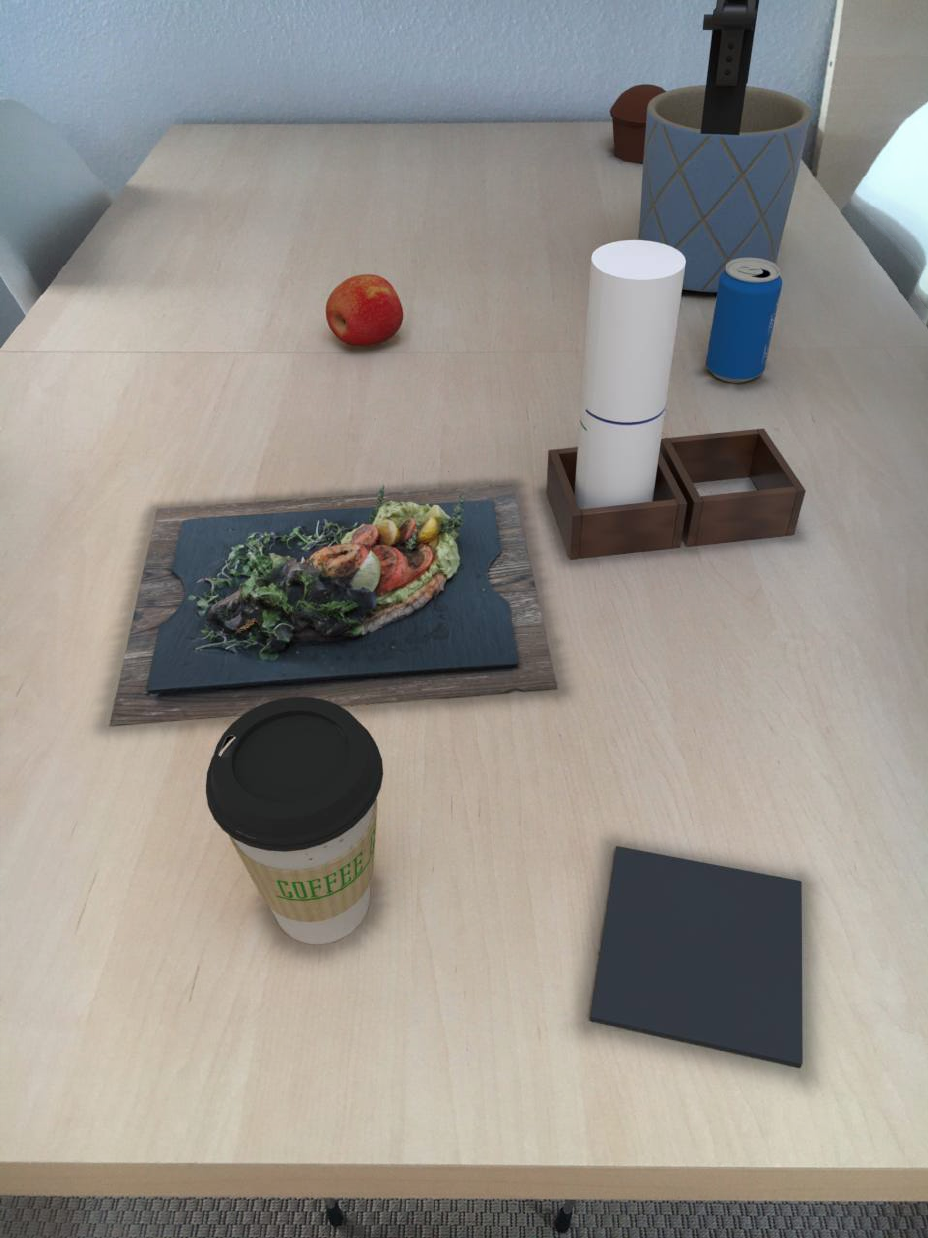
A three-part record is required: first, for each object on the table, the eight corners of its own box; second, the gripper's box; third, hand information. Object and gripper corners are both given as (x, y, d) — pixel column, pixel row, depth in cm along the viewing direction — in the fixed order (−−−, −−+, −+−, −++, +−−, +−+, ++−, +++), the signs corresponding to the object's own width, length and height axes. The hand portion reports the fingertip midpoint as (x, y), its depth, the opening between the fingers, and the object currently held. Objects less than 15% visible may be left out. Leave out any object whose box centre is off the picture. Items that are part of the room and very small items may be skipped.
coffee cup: (378, 983, 60) (355, 842, 50) (224, 958, 61) (170, 816, 51) (412, 847, 67) (398, 698, 57) (273, 827, 68) (234, 678, 58)
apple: (412, 347, 117) (408, 283, 112) (348, 366, 114) (341, 301, 109) (383, 321, 122) (377, 258, 117) (320, 338, 120) (312, 274, 114)
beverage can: (751, 391, 109) (772, 287, 100) (696, 376, 111) (712, 273, 103) (771, 366, 113) (793, 263, 104) (717, 352, 115) (734, 251, 107)
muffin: (598, 144, 167) (603, 79, 160) (661, 139, 169) (668, 74, 162) (619, 169, 159) (624, 101, 152) (685, 163, 160) (693, 95, 153)
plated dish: (511, 479, 98) (512, 416, 92) (563, 692, 77) (568, 625, 72) (152, 512, 95) (132, 449, 90) (110, 739, 75) (82, 674, 70)
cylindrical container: (608, 553, 89) (636, 288, 72) (557, 514, 93) (572, 255, 76) (665, 523, 92) (705, 262, 75) (613, 487, 96) (640, 232, 79)
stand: (754, 471, 98) (764, 427, 94) (794, 534, 90) (806, 490, 87) (546, 493, 96) (548, 449, 92) (569, 559, 89) (572, 515, 85)
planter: (644, 305, 124) (663, 136, 110) (621, 243, 138) (635, 86, 124) (795, 300, 124) (832, 131, 111) (757, 238, 138) (786, 81, 124)
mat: (799, 885, 64) (801, 880, 64) (800, 1068, 56) (802, 1064, 55) (615, 850, 66) (616, 845, 66) (589, 1021, 58) (590, 1016, 58)
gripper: (724, -270, 71) (689, 62, 85) (696, -264, 53) (658, 155, 67) (833, -275, 69) (779, 65, 83) (843, -271, 51) (772, 160, 65)
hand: (725, 106), depth 75 cm, fingers open, 13 cm apart
